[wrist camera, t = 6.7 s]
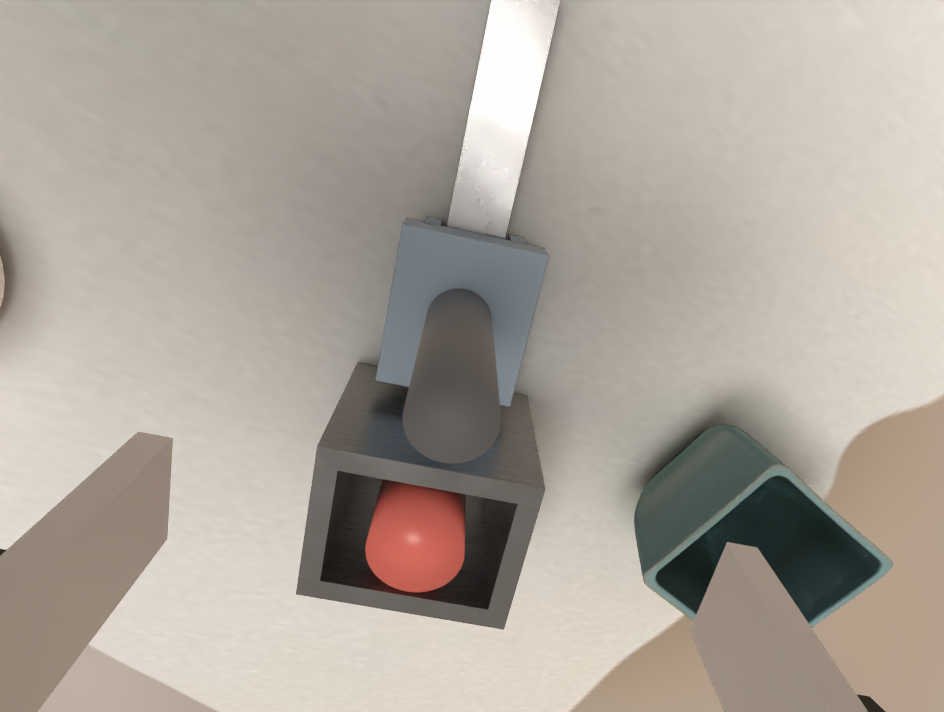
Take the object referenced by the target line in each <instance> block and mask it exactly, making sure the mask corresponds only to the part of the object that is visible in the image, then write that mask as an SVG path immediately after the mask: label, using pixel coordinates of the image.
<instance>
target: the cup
mask: <svg viewBox="0 0 944 712" xmlns="http://www.w3.org/2000/svg"><path fill="white" fill-rule="evenodd" d="M4 288H5V277H4V269H3V264H2V260H1V257H0V307H1V304H2V301H3V296H4Z"/></svg>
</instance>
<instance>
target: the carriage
mask: <svg viewBox="0 0 944 712" xmlns="http://www.w3.org/2000/svg"><path fill="white" fill-rule="evenodd" d="M441 225H442V220H441V219H437V218H432V217H427V219H426V221H425V222H422V221H417V220H413V219H408V218H407V219H406V220H405V222H404V223H403V224H402V230H401V236H400V242H399V247H398V253H397V259H396V265H395V271H394V276H393V282H392V288H391V294H390V299H389V305H388V311H387V317H386V323H385V328H384V334H383V340H382V346H381V351H380V357H379V363H378V369H377V375H376V380H377V381H382V382H387V383H392V384H397V385H402V386H407V387H409V389H408V393H407V397H406V402H405V406H404V410H403V427H404V431H405V434H406V436H407V438H408V440H409V441H410V443H411V444H412V445H413V447H414V448H415V449H416V450H417V451H419V452H420V453H421V454H423V455H424V456H426V457H428V458H429V459H432V460H434V461H438V462H442V463H449V464H456V463H463V462H468V461H470V460H473V459H475V458H477V457H479V456H481V455H482V454H484V453H485V452H486V451H487V450H488V449H489V448H490V447H491V446H492V445H493V443H494V442H495V441H496V439H497V437H498V434H499V431H500V427H501V410H500V405H504V406H509V407H510V404H511V400H512V396H513V393H514V389H515V385H516V381H517V377H518V373H519V369H520V366H521V362H522V358H523V354H524V350H525V346H526V342H527V338H528V335H529V331H530V327H531V323H532V319H533V315H534V311H535V308H536V304H537V300H538V296H539V292H540V288H541V284H542V280H543V277H544V273H545V269H546V265H547V261H548V257H549V255H548V253H547V252H546V250H545V248H542V247H538V246H533V245H529V244H527V243H526V241H525V239H524V237H520V236H515V235H511V234H509V237H508V240H505V239H501V238H496V237H491V236H487V235H482V234H477V233H473V232H468V231H464V230H459V229H454V228H450V227H445V226H441Z"/></svg>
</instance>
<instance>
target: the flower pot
mask: <svg viewBox="0 0 944 712" xmlns="http://www.w3.org/2000/svg"><path fill="white" fill-rule="evenodd" d="M634 525H635V534H636V541H637V546H638V552H639V558H640V564H641V569H642V575H643V581H644V583H645V584H646V585H647V586H648V587H649V588H650V589H651V590H653V591H654V592H656V593H657V594H658V595H660V596H661V597H662V598H664V599H665V600H666V601H668V602H669V603H670V604H671V605H673V606H674V607H676V608H677V609H678V610H679V611H681V612H682V613H683V614H685V615H686V616H687V617H689V618H690V619H691V620H693V621H694V619H695V617H696V614H697V612H698V610H699V607H700V605H701V602H702V600H703V598H704V595H705V593H706V591H707V588H708V586H709V584H710V581H711V579H712V576H713V574H714V572H715V569H716V567H717V565H718V562H719V560H720V558H721V555H722V553H723V550H724V548H725V546H726V543H727V542H730V543H735V544H741V545H746V546H751V547H757V548H758V549H759V551H760V552H761V554H762V555H763V557H764V558H765V560H766V561H767V563H768V564H769V566H770V567H771V568H772V570H773V571H774V573H775V574H776V576H777V577H778V579H779V580H780V582H781V583H782V585H783V586H784V588H785V589H786V591H787V592H788V594H789V595H790V597H791V598H792V600H793V601H794V603H795V604H796V605H797V607H798V608H799V610H800V611H801V613H802V614H803V616H804V617H805V619H806V620H807V622H808V623H809V625H810V626H811V628H813V627H814V626H815V625H817V624H818V623H819V622H821V621H822V620H823V619H825V618H826V617H827V616H829V615H830V614H831V613H833V612H834V611H836V610H837V609H839V608H840V607H841V606H843V605H844V604H846V603H847V602H848V601H850V600H852V599H853V598H854V597H855V596H857V595H858V594H859V593H861V592H862V591H864V590H865V589H866V588H867V587H870V586H871V585H872V584H873V583H875V582H876V581H878V580H879V579H880V578H882V577H883V576H884V575H885V574H886V573H887V572H888V571H889V570H890V569H891V567H892V566H893V562H892V560H891V559H890V558H889V557H888V556H887V555H886V554H884V553H883V552H882V551H881V550H880V549H878V548H877V547H876V546H875V545H874V544H873V543H871V542H870V541H869V540H868V539H867V538H866V537H864V536H863V535H862V534H861V533H860V532H858V531H857V530H856V529H855V528H854V527H853V526H852V525H850V524H849V523H848V522H847V521H846V520H845V519H844V518H842V517H841V516H840V515H839V514H838V513H837V512H835V511H834V510H833V509H832V508H831V507H830V506H829V505H828V504H827V503H826V502H824V501H823V500H822V499H821V498H820V497H819V496H818V495H817V494H816V493H815V492H814V491H812V490H811V489H810V488H809V487H808V486H807V485H806V484H805V483H804V482H803V481H802V480H801V479H800V478H799V477H798V476H797V475H796V474H795V473H794V472H793V471H792V470H790V469H789V468H788V467H787V466H785V465H784V464H783V463H782V462H781V461H780V460H778V459H777V458H776V457H775V456H774V455H772V454H771V453H770V452H769V451H768V450H766V449H765V448H764V447H763V446H762V445H761V444H759V443H758V442H757V441H756V440H755V439H753V438H752V437H751V436H750V435H748V434H747V433H745V432H744V431H742V430H740V429H738V428H735V427H732V426H728V425H719V426H715V427H712V428H710V429H707V430H705V431H704V432H703V433H702V434H701V435H700V436H698V437H697V438H696V439H695V440H694V441H693V442H692V443H691V444H690V445H689V446H687V447H686V448H685V449H684V450H683V451H682V452H681V453H680V454H679V455H678V456H676V457H675V458H674V459H673V460H672V461H671V462H670V463H669V464H667V465H666V466H665V467H664V468H663V469H662V470H661V471H659V472H658V473H657V474H656V475H655V476H654V477H653V478H652V479H651V481H650V482H649V483H648V484H647V486H646V487H645V489H644V490H643V492H642V494H641V496H640V498H639V500H638V503H637V506H636V510H635V516H634Z"/></svg>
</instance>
